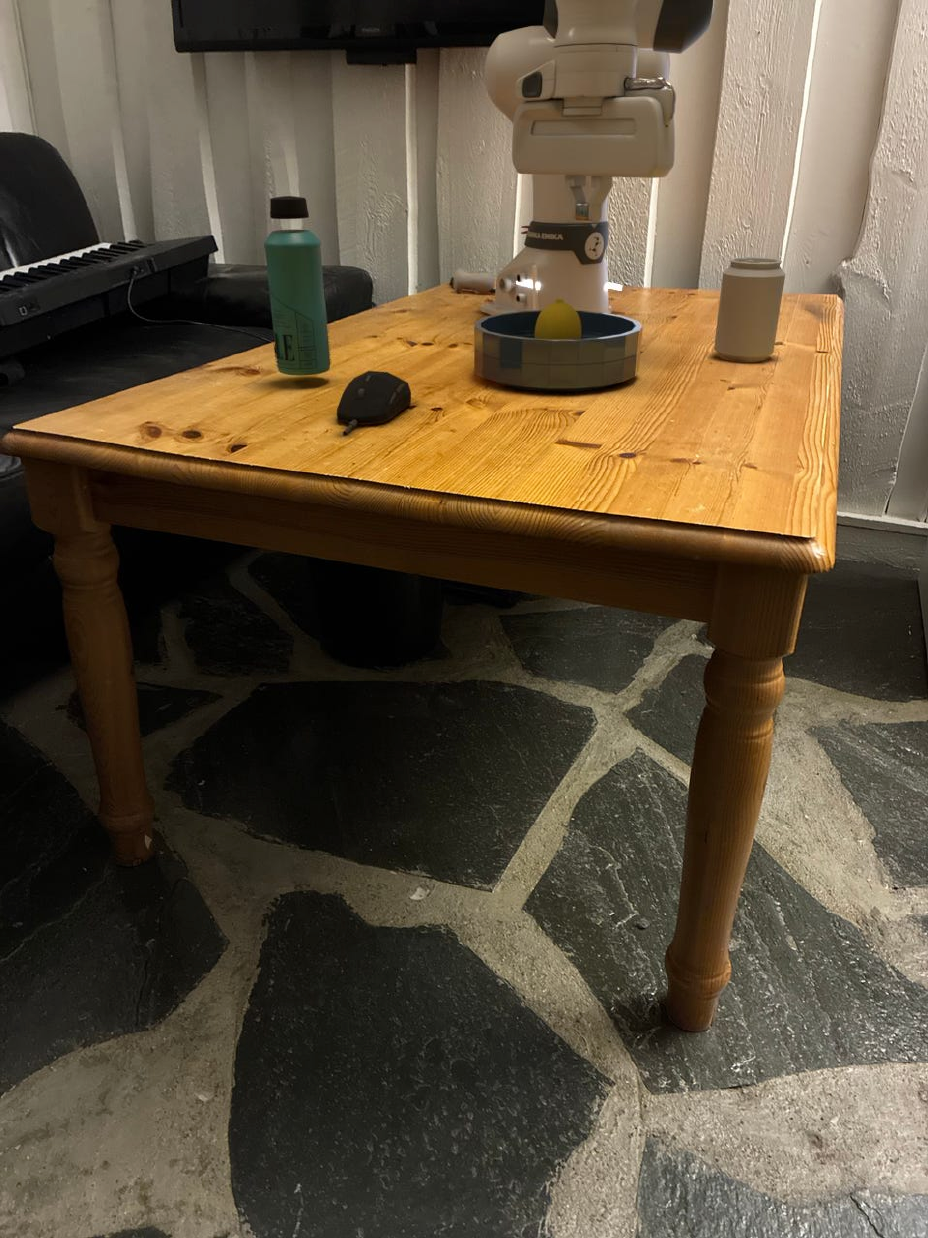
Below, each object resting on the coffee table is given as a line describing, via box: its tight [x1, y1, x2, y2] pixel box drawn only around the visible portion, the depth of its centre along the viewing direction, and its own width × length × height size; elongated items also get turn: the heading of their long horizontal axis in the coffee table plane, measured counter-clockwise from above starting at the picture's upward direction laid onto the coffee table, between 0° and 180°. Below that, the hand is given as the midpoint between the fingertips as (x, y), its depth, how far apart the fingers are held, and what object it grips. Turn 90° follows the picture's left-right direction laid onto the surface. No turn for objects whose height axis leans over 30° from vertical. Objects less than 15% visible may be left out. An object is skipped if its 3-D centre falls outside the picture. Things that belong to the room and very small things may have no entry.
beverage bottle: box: [263, 195, 333, 376], centre depth 102 cm, size 6×7×20 cm
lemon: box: [535, 299, 581, 339], centre depth 107 cm, size 6×6×8 cm
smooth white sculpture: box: [452, 267, 496, 295], centre depth 167 cm, size 4×8×5 cm
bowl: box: [473, 310, 644, 393], centre depth 108 cm, size 20×20×6 cm
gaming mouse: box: [336, 370, 412, 436], centre depth 93 cm, size 6×15×4 cm, turn 166°
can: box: [713, 256, 786, 363], centre depth 115 cm, size 8×8×12 cm
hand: (586, 220), depth 103 cm, fingers closed
